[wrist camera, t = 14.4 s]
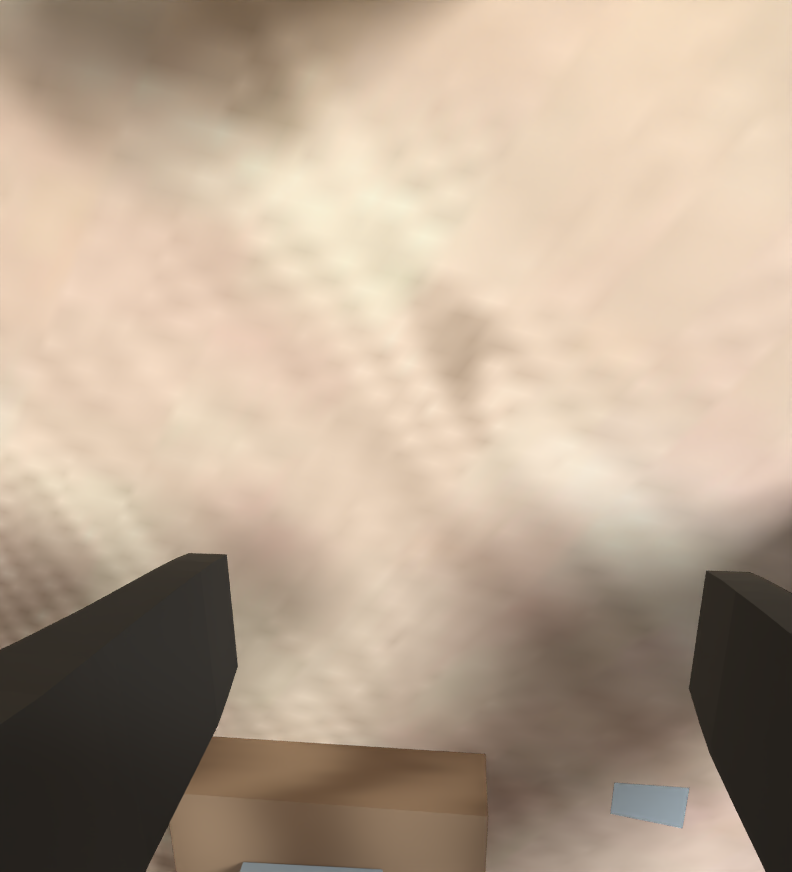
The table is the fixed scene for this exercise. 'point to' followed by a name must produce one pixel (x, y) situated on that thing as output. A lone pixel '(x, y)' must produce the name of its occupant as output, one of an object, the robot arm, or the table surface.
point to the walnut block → (332, 808)
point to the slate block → (298, 868)
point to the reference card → (650, 803)
